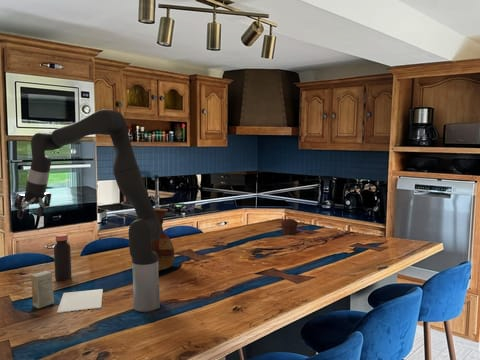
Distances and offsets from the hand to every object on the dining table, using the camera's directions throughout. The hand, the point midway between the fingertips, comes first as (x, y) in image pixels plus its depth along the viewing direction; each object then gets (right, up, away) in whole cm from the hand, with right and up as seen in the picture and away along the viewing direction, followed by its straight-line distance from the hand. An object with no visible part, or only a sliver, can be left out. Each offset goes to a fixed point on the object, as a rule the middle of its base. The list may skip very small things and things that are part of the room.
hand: (30, 216), depth 169 cm
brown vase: (+45, -28, +28) cm, 60 cm away
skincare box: (+13, -32, -15) cm, 38 cm away
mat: (+26, -31, -11) cm, 42 cm away
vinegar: (+7, -29, +15) cm, 34 cm away
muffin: (+120, -21, +106) cm, 161 cm away
